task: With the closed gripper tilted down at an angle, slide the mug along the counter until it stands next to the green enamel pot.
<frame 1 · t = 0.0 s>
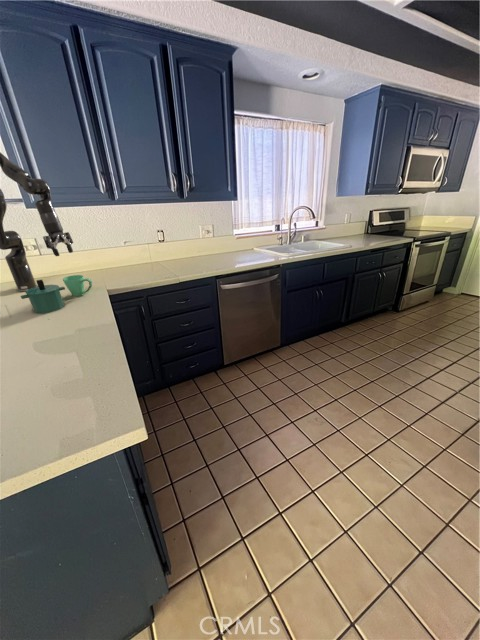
hand: (64, 254, 141), 22 cm above the worktop, tool pointing down, fingers open, 8 cm apart
pot lid: (42, 290, 128), point 9 cm above the worktop, touching pot
pot: (49, 308, 133), on the worktop
mug: (82, 295, 149), on the worktop
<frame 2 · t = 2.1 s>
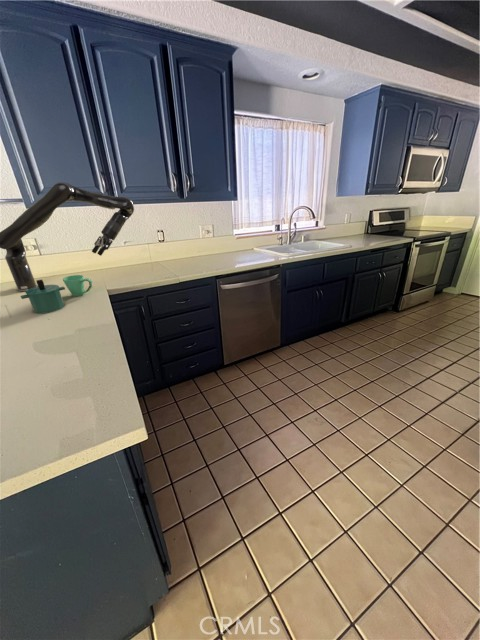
hand: (96, 253, 148), 21 cm above the worktop, tool tilted 45°, fingers open, 8 cm apart
nothing on the worktop moved.
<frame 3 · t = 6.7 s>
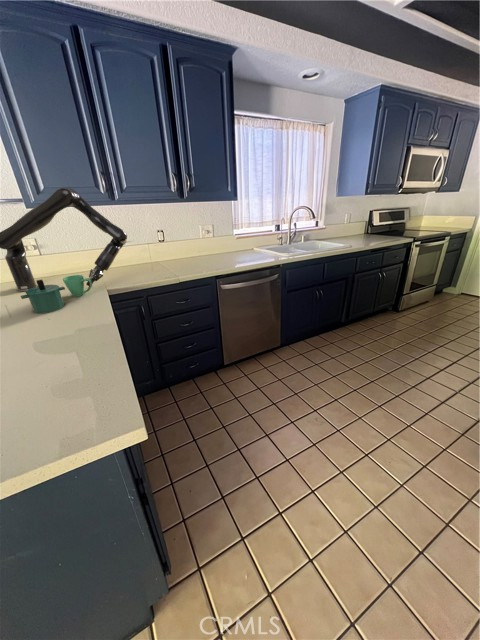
hand: (88, 285, 150), 4 cm above the worktop, tool tilted 45°, fingers closed
mug: (82, 295, 149), on the worktop, touching gripper
everything else where it was.
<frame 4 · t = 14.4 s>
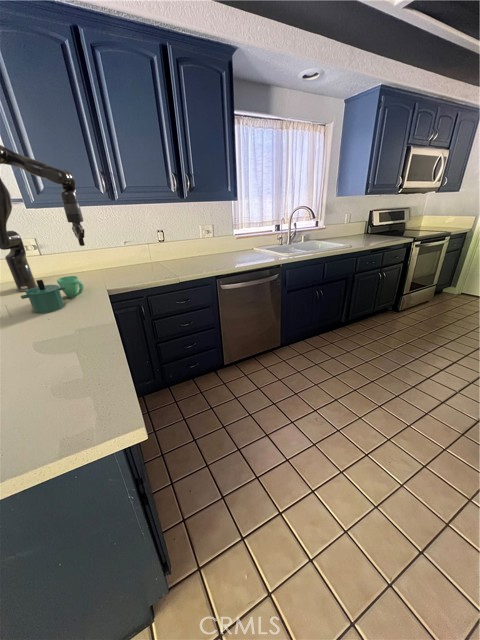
hand: (82, 245, 149), 25 cm above the worktop, tool pointing down, fingers closed
mug: (75, 296, 147), on the worktop
everything else where it was.
at the end: mug 16.6 cm from the pot (horizontally); mug moved 3.4 cm from its start; mug tilted 0° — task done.
